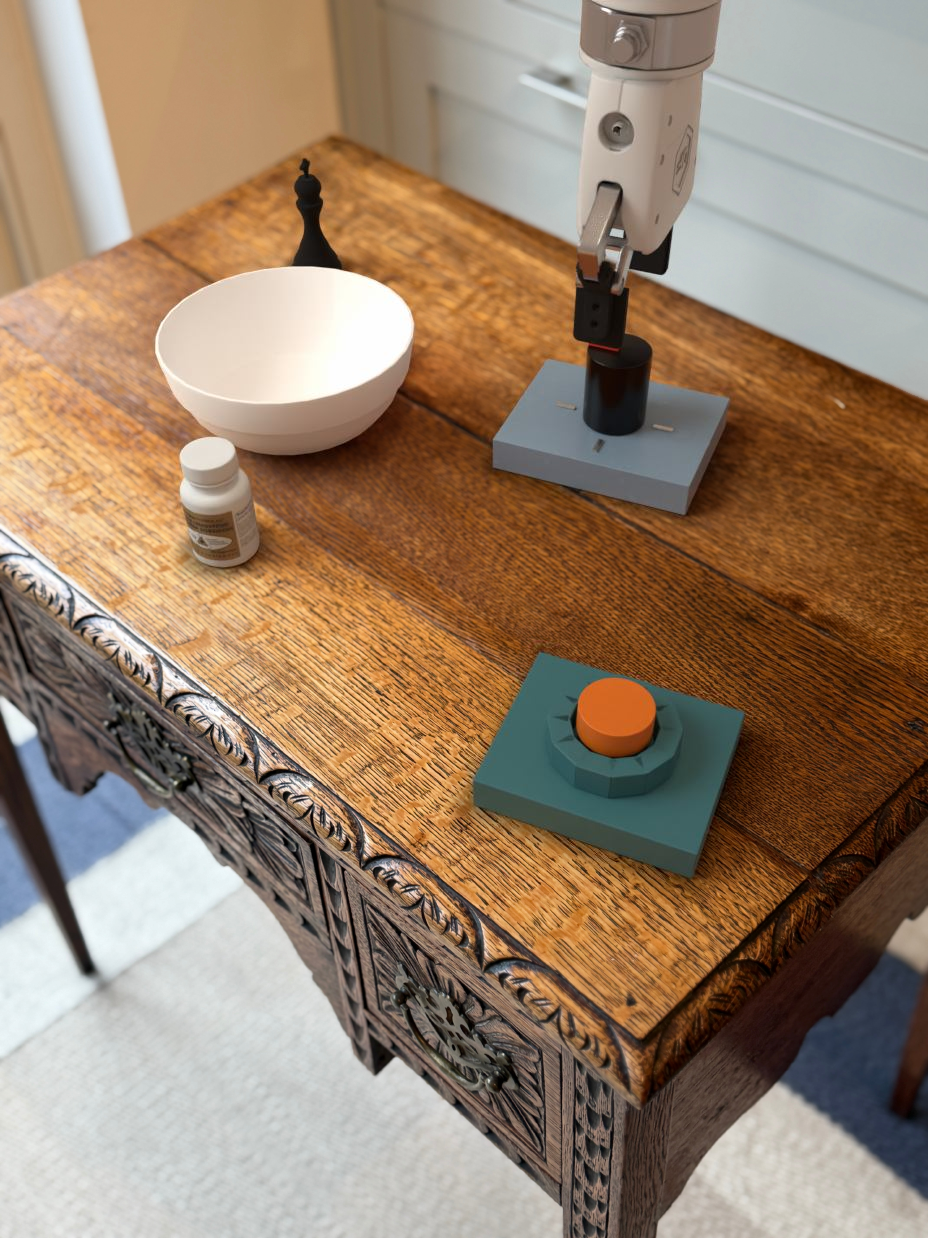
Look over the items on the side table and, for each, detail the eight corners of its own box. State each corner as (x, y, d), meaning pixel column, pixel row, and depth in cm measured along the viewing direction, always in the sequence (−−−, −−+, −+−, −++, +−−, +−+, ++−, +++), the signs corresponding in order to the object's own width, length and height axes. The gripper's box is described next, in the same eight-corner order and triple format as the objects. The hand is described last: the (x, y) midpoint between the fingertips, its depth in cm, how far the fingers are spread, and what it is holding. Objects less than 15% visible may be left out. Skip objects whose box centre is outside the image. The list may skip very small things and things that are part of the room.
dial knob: (652, 407, 84) (661, 335, 80) (634, 441, 81) (642, 369, 77) (594, 394, 85) (599, 323, 81) (573, 427, 82) (578, 355, 78)
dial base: (725, 426, 87) (730, 396, 85) (685, 515, 79) (689, 484, 78) (546, 386, 91) (547, 356, 89) (492, 467, 84) (492, 437, 82)
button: (662, 712, 62) (665, 690, 61) (639, 767, 60) (643, 745, 59) (590, 690, 64) (592, 668, 62) (565, 744, 61) (567, 722, 60)
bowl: (127, 464, 84) (104, 377, 79) (239, 333, 97) (225, 251, 92) (366, 512, 80) (358, 424, 75) (451, 369, 92) (449, 285, 87)
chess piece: (283, 278, 103) (268, 165, 96) (303, 254, 106) (290, 144, 99) (330, 285, 102) (319, 172, 95) (349, 261, 105) (339, 150, 98)
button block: (739, 737, 66) (751, 689, 63) (692, 880, 59) (702, 833, 57) (538, 676, 69) (540, 628, 66) (472, 805, 63) (471, 758, 60)
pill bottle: (180, 560, 77) (157, 465, 72) (215, 519, 80) (195, 425, 74) (239, 576, 76) (220, 481, 70) (272, 534, 79) (256, 440, 73)
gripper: (671, 96, 58) (637, 387, 71) (752, -13, 70) (711, 254, 82) (529, 74, 61) (520, 360, 73) (630, -29, 72) (608, 235, 84)
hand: (621, 304), depth 77 cm, fingers open, 9 cm apart
